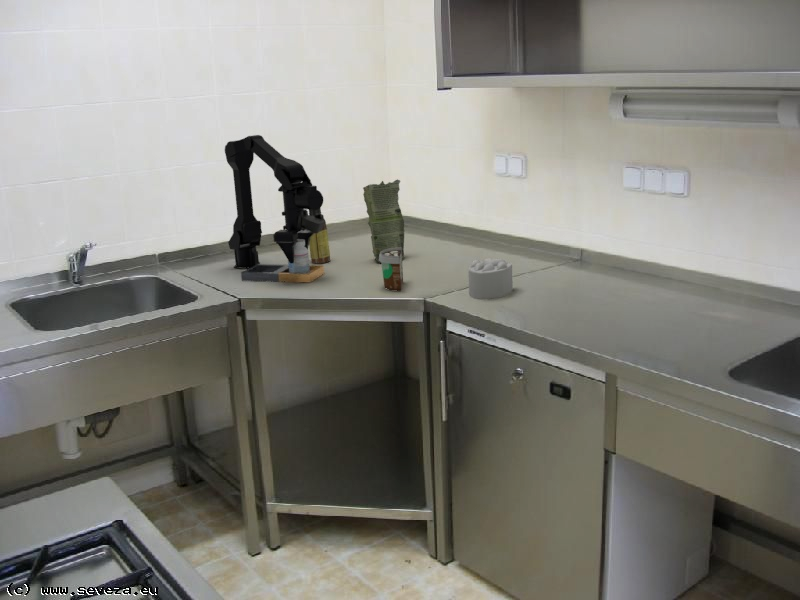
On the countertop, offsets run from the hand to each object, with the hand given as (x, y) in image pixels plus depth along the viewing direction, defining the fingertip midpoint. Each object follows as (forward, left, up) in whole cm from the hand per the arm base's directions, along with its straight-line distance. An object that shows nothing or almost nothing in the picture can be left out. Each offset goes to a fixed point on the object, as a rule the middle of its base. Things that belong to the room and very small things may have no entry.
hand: (298, 259), depth 250 cm
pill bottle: (0, 0, -6) cm, 6 cm away
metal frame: (-5, 0, -6) cm, 8 cm away
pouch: (+19, +25, -6) cm, 32 cm away
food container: (+31, -7, -6) cm, 32 cm away
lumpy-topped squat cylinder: (+59, -10, -6) cm, 60 cm away
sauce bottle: (-2, +20, -6) cm, 21 cm away
